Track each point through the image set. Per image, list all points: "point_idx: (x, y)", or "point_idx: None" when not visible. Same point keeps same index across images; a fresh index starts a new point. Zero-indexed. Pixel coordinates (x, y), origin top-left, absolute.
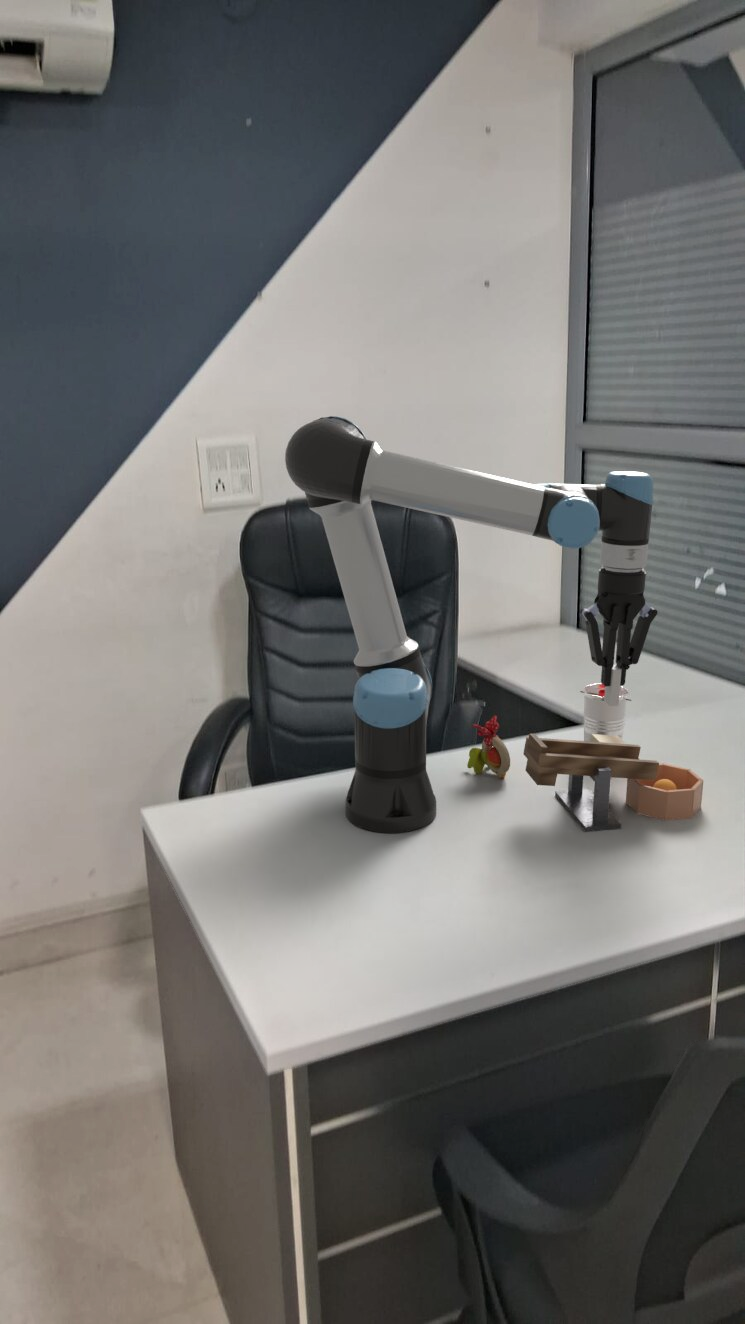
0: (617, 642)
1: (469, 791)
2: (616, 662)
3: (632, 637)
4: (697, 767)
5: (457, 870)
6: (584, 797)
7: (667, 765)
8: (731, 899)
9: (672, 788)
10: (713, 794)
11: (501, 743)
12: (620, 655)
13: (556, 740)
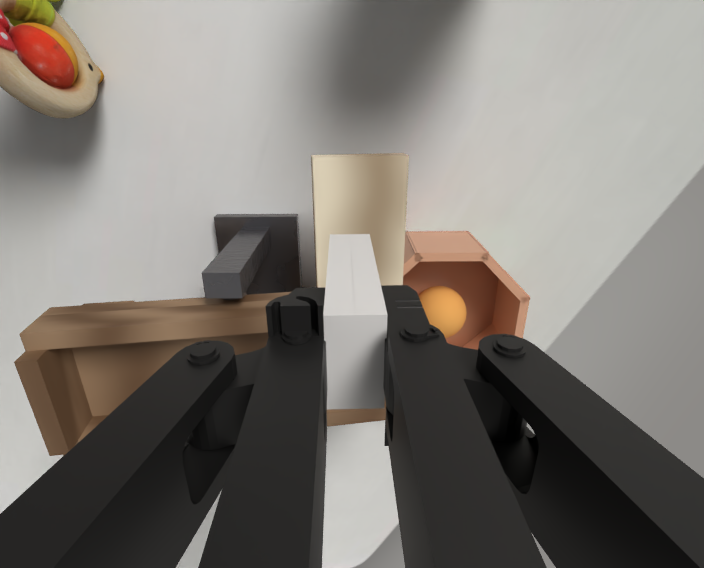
0: (411, 460)
1: (9, 151)
2: (387, 346)
3: (623, 503)
4: (639, 115)
5: (5, 444)
6: (272, 260)
7: (490, 266)
8: (373, 548)
9: (447, 337)
10: (563, 271)
11: (14, 89)
12: (393, 450)
13: (129, 337)
